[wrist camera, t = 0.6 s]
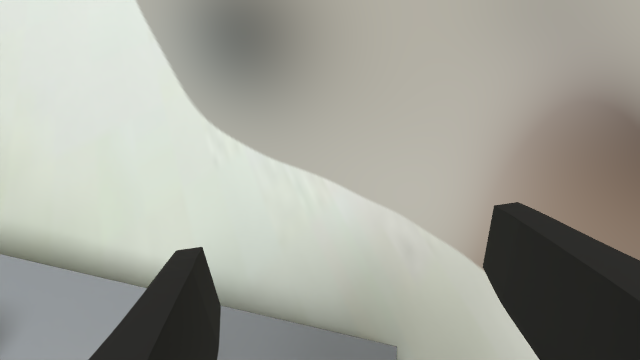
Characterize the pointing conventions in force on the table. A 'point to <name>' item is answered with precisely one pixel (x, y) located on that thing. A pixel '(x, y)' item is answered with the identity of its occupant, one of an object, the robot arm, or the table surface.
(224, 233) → the table surface
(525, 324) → the robot arm
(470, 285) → the table surface
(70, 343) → the panel
